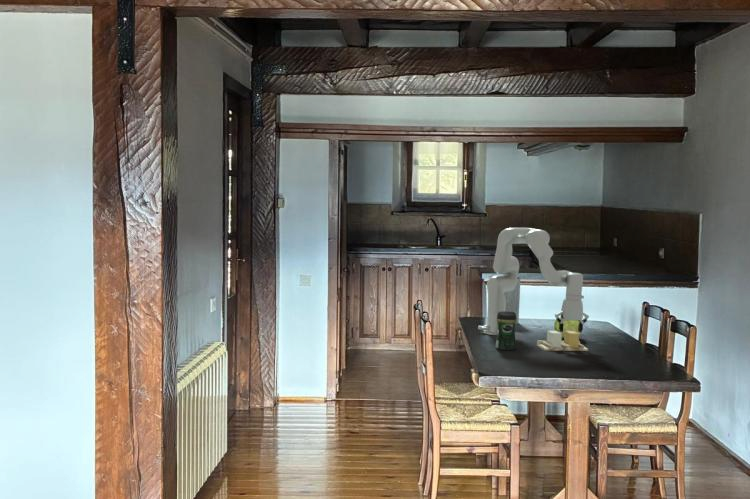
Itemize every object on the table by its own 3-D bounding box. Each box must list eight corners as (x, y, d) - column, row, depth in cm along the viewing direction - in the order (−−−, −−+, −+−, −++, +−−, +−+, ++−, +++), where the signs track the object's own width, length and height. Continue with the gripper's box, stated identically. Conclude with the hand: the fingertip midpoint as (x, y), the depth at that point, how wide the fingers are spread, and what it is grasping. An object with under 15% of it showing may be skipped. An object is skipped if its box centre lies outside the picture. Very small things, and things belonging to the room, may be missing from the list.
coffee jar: (513, 347, 378) (515, 310, 377) (516, 350, 371) (518, 313, 369) (494, 346, 379) (495, 309, 377) (496, 350, 371) (498, 312, 369)
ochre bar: (563, 344, 385) (564, 330, 384) (572, 344, 385) (573, 331, 385) (569, 347, 377) (570, 333, 376) (578, 347, 377) (579, 333, 377)
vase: (519, 324, 446) (521, 278, 443) (502, 324, 446) (504, 278, 444) (516, 321, 456) (518, 276, 453) (500, 321, 456) (502, 276, 454)
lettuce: (557, 332, 393) (580, 318, 392) (547, 319, 415) (570, 307, 414) (568, 352, 396) (592, 339, 394) (559, 339, 417) (581, 327, 416)
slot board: (544, 350, 374) (545, 345, 374) (536, 345, 386) (537, 340, 385) (587, 350, 376) (588, 345, 376) (578, 345, 388) (579, 340, 388)
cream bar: (546, 344, 384) (547, 330, 383) (555, 344, 384) (555, 330, 384) (552, 347, 376) (552, 333, 375) (561, 347, 376) (561, 333, 376)
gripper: (587, 297, 384) (584, 330, 386) (554, 295, 382) (551, 329, 384) (593, 299, 376) (590, 333, 378) (559, 298, 374) (556, 332, 376)
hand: (570, 331), depth 381 cm, fingers open, 9 cm apart
